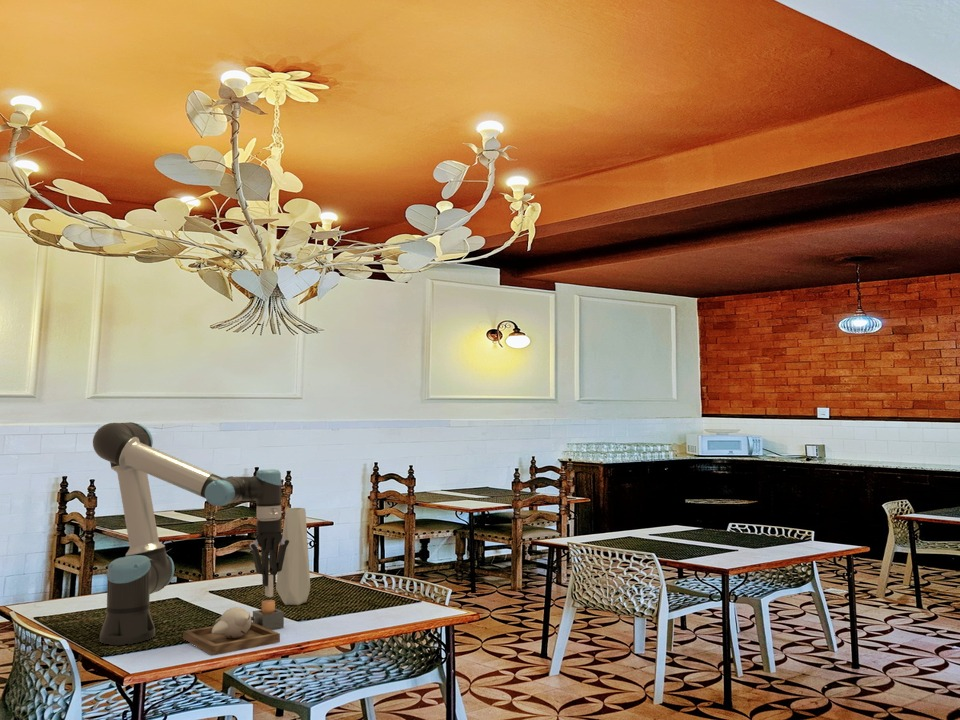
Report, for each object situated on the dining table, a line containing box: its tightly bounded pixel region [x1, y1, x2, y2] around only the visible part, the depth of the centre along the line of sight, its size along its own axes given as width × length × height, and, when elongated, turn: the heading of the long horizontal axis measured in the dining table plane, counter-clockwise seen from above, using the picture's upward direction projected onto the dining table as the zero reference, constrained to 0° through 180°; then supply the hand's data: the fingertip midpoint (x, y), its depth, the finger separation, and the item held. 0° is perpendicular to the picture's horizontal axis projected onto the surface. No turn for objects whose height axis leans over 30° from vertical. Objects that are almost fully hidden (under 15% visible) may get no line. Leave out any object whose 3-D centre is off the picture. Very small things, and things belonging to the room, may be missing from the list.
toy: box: [212, 606, 255, 639], centre depth 242 cm, size 13×9×15 cm
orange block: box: [261, 599, 276, 614], centre depth 255 cm, size 4×4×5 cm
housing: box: [252, 607, 285, 631], centre depth 255 cm, size 7×7×5 cm
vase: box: [275, 507, 311, 606], centre depth 291 cm, size 12×12×33 cm
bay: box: [182, 621, 281, 656], centre depth 240 cm, size 20×22×2 cm
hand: (269, 595), depth 256 cm, fingers closed
